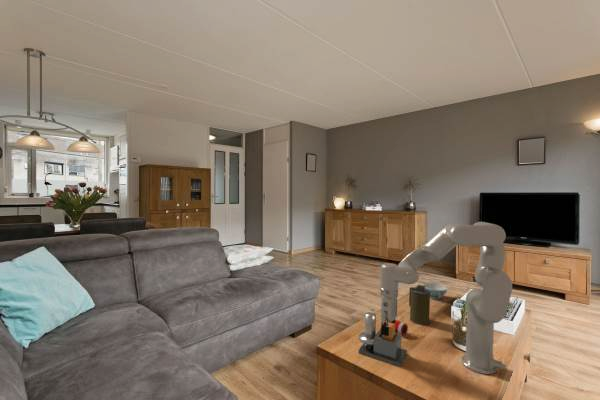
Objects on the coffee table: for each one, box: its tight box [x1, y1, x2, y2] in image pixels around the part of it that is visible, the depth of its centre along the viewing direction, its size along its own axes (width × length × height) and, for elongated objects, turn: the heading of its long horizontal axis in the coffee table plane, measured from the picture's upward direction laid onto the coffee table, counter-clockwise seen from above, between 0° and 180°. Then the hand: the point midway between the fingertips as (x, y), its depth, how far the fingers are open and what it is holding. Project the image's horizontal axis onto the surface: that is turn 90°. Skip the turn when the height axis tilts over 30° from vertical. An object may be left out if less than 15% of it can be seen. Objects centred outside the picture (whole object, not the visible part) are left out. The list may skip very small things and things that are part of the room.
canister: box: [408, 284, 431, 326], centre depth 162 cm, size 11×10×20 cm
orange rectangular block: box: [382, 321, 396, 341], centre depth 127 cm, size 4×4×12 cm
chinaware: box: [423, 282, 448, 300], centre depth 199 cm, size 15×15×8 cm
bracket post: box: [358, 311, 408, 368], centre depth 128 cm, size 20×12×16 cm, turn 57°
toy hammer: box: [385, 318, 409, 337], centre depth 144 cm, size 23×12×6 cm, turn 126°
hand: (388, 330), depth 127 cm, fingers open, 9 cm apart
